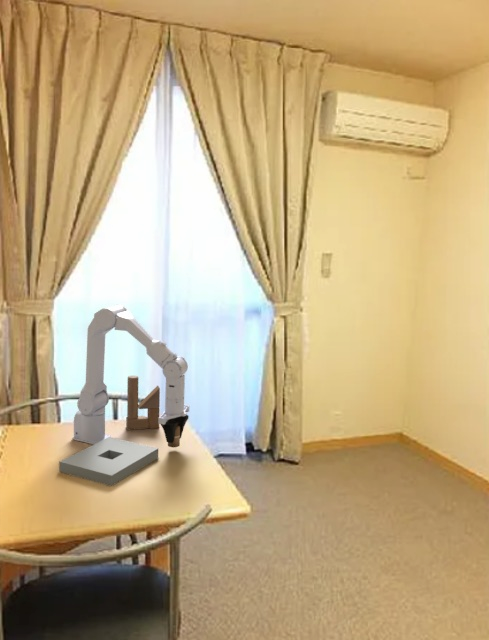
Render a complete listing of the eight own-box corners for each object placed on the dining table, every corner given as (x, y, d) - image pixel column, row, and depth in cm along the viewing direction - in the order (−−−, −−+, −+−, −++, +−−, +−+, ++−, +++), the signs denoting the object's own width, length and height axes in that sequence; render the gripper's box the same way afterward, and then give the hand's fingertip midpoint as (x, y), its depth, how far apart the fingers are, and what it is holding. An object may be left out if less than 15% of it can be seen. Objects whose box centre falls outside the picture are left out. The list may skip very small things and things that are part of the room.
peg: (165, 445, 181) (165, 427, 180) (171, 442, 184) (172, 423, 183) (175, 448, 179) (176, 429, 178) (181, 444, 182) (182, 425, 181)
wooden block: (159, 428, 201) (160, 377, 198) (127, 430, 197) (127, 378, 194) (157, 424, 204) (158, 374, 201) (126, 426, 201) (126, 375, 198)
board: (59, 471, 164) (59, 461, 163) (109, 446, 183) (109, 436, 183) (111, 486, 156) (111, 475, 156) (158, 457, 176) (158, 448, 175)
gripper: (173, 405, 171) (172, 450, 173) (198, 393, 184) (196, 435, 186) (152, 401, 174) (151, 445, 176) (178, 390, 187) (177, 431, 189)
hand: (173, 440), depth 181 cm, fingers closed on peg, 4 cm apart
